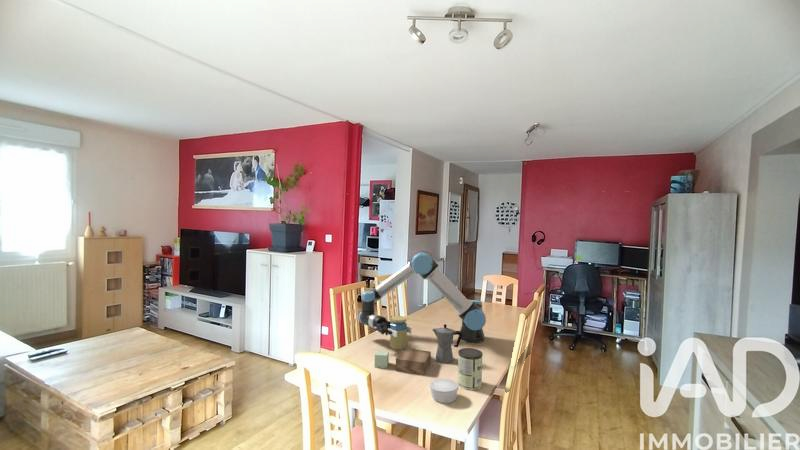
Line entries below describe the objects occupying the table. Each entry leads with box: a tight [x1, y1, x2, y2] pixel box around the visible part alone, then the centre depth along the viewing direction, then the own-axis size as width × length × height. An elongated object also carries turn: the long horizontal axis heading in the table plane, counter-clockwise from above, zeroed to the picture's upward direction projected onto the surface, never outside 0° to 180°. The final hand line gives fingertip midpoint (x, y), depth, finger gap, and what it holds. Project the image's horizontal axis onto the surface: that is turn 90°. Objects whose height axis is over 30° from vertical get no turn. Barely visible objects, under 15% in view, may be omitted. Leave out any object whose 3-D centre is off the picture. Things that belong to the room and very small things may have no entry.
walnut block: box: [395, 347, 432, 376], centre depth 166 cm, size 14×14×6 cm
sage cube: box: [374, 349, 390, 369], centre depth 168 cm, size 6×6×6 cm
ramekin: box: [429, 378, 459, 404], centre depth 138 cm, size 11×11×5 cm
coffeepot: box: [432, 323, 462, 364], centre depth 175 cm, size 15×9×18 cm, turn 68°
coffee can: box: [457, 347, 483, 391], centre depth 149 cm, size 10×10×14 cm
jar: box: [389, 315, 408, 350], centre depth 181 cm, size 9×9×15 cm
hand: (404, 332), depth 177 cm, fingers closed on jar, 9 cm apart
